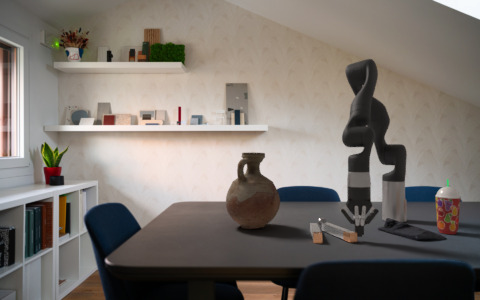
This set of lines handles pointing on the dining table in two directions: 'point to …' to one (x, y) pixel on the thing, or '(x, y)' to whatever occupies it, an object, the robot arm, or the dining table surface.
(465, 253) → the dining table surface
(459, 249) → the dining table surface
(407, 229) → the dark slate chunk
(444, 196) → the smoothie
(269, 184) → the jug
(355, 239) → the tong arm
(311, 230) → the base
